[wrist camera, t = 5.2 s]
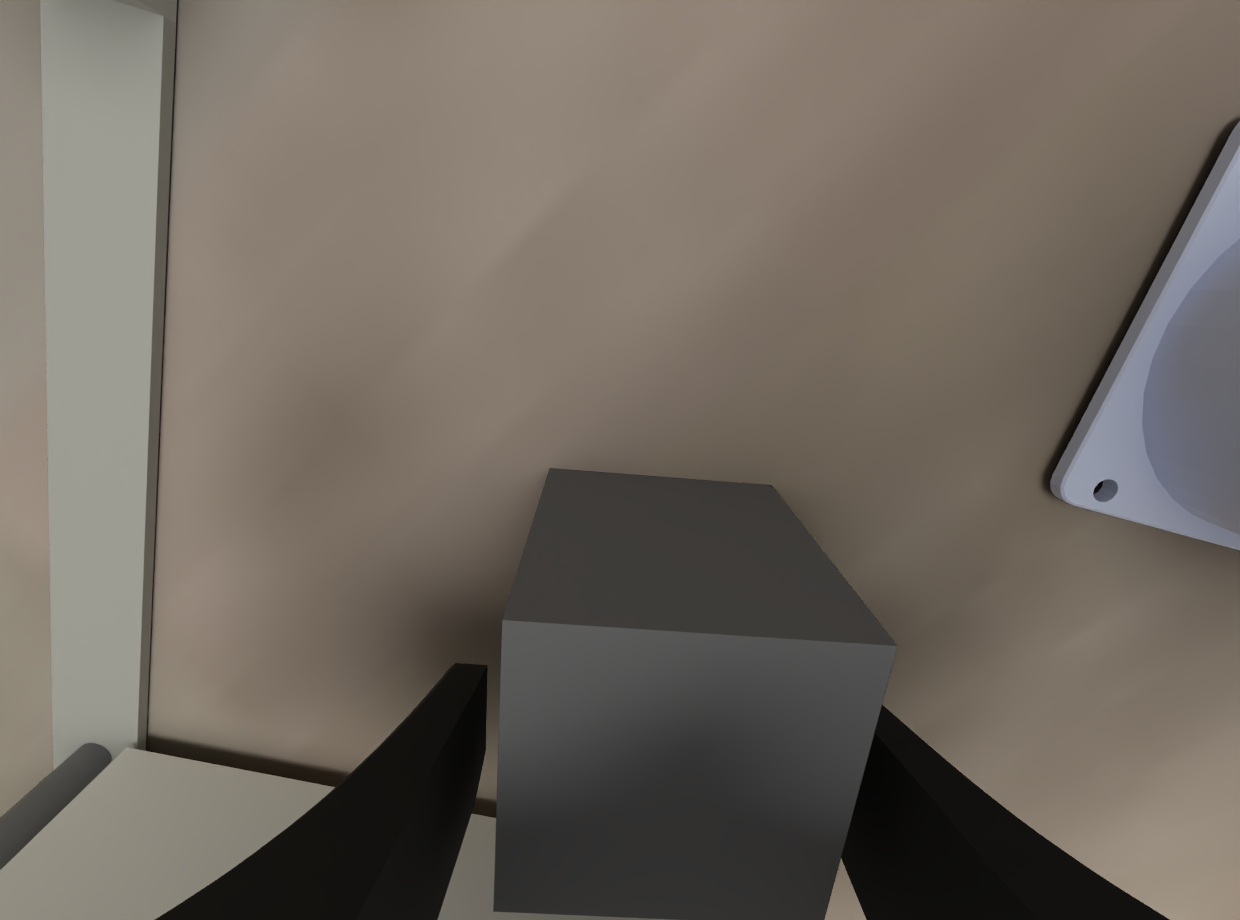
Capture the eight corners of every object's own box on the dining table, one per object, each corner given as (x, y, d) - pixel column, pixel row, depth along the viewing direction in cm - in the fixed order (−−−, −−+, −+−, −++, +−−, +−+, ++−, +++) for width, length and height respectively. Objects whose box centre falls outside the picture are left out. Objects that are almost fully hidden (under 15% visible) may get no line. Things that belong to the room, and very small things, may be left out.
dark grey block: (771, 485, 13) (896, 645, 7) (722, 766, 15) (788, 1053, 10) (549, 468, 13) (502, 620, 7) (534, 755, 15) (489, 1043, 10)
